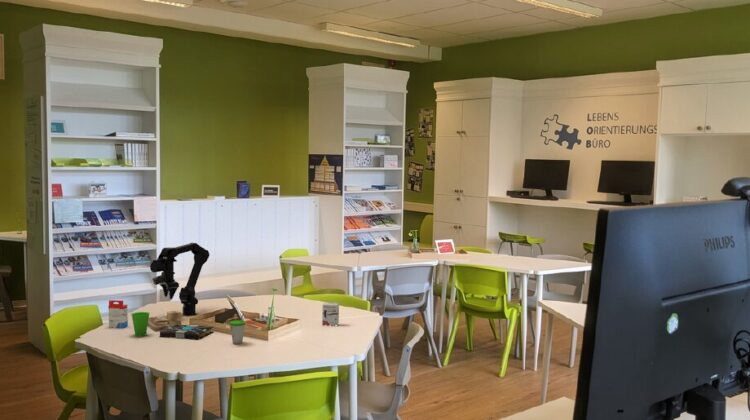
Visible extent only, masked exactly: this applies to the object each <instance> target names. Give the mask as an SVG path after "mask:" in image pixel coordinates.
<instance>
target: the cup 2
mask: <svg viewBox="0 0 750 420" xmlns="http://www.w3.org/2000/svg"><path fill="white" fill-rule="evenodd" d="M244 315H245V313H243V314H242V315H241V316H240V320H232V321H229V326H230V332H231V338H232V339H231V340H232V344H233V345H241V344H243V340H244V333H245V325H246V321H245V320H243V317H244Z"/></svg>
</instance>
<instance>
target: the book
mask: <svg viewBox="0 0 750 420" xmlns="http://www.w3.org/2000/svg"><path fill="white" fill-rule="evenodd" d="M213 329H214V325H212V326H211V325H210V326H207V325H206V326H204V325H200V324H199V325H198V324H189V325H188V324H187V325H186V324H181V325H179V324H177V325H175V326H173V327H168V329H166V330H163V331H159V338H174V339H181V340H183V339H184V340H185V339H186V340H187V339H188V340H197V341H200V340H201V339H203V338H205V337H206V336H208V335H209V334H213V333H214V330H213Z"/></svg>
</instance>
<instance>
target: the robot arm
mask: <svg viewBox="0 0 750 420" xmlns="http://www.w3.org/2000/svg"><path fill="white" fill-rule="evenodd" d="M189 252H191V253H192V254H193V262H194V263H193V265H192V268H191V271H190V273H189V277H188V280H187V283H186V285H185V286H184V287H181V288H180V291H179V293H178V295H179V296H178V298H179V300H180V303H181V304H182V305H183V306H182V309H181V310H182V311H181V315H184V317H185V316H186V317H188V316H196V315H198V314H197V313H196V312H197V311H196V306H197V305H198V303H199V300H198V298H197V297H196V290H195V288H196V286H197V282H198V279H199V277H200V273H201V272H202V269H203V266H204V264H206V263H207V261H208V260H209V257H210V255H211V254H210V252H209V250H208V249H206V248H204V247H202V246H201V245H199V244H198V243H197V242H190V243H187V244H183V245H179V246H176V247H175V246H174V247H170V246H169V247H163V248H162V249H161V252H160V253H159V255H158V257H157V258H156V259H152V262H151V263H150V266H149V268H150V271H151V272H152V273H159V272H161V274H160V275H158V276H154V277H152V279H151V280H152V282H153V285H154V286H158V285H159V286H160V287H161V288H162V292H163V295H164V297H165V298H167V297H168V296H169V300H170V301H171V300H173V299H174V296H175V294H176V293H177V290H178V288H179V287H180V283H179V282H178V281H177V280H175V278H174V277H175V276H174V275H175V274H176V272H175V271H174V270H175V268H174V266H175V265H174V263H175V262H178V260H177V259H176V257H178V256H179V255H182V254H184V253H189Z"/></svg>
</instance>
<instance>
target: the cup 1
mask: <svg viewBox="0 0 750 420" xmlns="http://www.w3.org/2000/svg"><path fill="white" fill-rule="evenodd" d="M150 314H151V313H150V312H148V311H137V312H132V313H130V315H131V318H132V326H133V331H134V335H135V337H145V336H146V335H147V331H148V326H147V325H148V319H149V318H150Z"/></svg>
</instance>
